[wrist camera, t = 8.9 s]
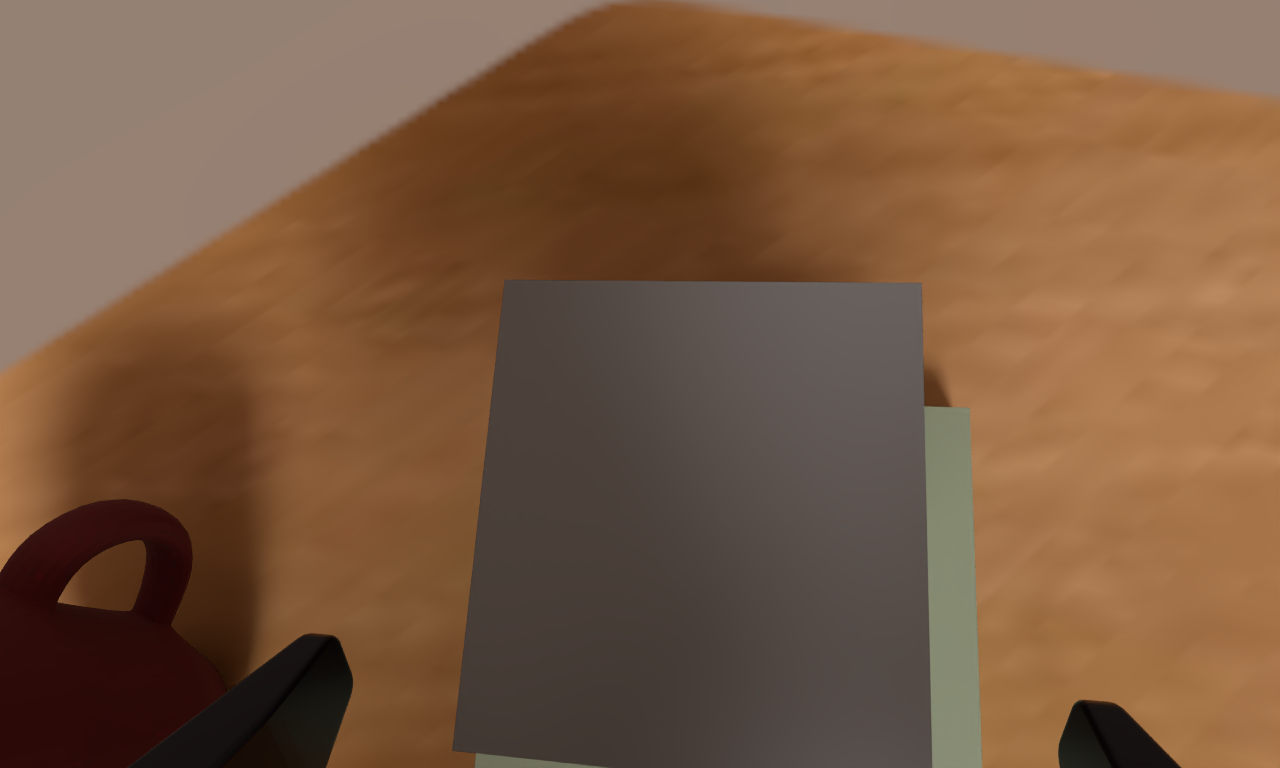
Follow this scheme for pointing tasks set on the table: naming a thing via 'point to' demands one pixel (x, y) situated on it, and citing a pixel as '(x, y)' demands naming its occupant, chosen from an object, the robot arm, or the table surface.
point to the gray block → (703, 529)
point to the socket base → (947, 600)
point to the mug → (96, 646)
